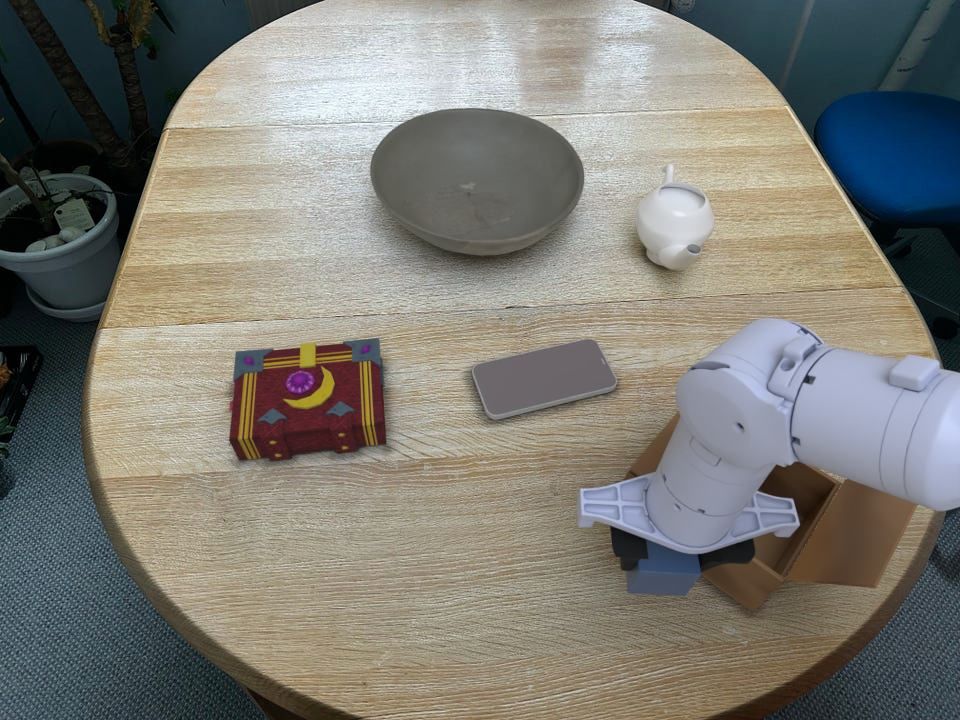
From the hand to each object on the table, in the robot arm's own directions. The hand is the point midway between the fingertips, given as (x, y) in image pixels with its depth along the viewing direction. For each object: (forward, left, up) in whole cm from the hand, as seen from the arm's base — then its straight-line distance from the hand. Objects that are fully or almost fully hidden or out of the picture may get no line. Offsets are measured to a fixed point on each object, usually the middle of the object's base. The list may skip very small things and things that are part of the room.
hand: (657, 560), depth 52 cm
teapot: (+22, -41, -10) cm, 48 cm away
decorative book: (+37, +6, -10) cm, 39 cm away
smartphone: (+21, -14, -9) cm, 27 cm away
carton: (-1, -12, -9) cm, 15 cm away
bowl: (+45, -30, -10) cm, 55 cm away
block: (0, 0, -1) cm, 1 cm away
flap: (-10, -12, +2) cm, 16 cm away
